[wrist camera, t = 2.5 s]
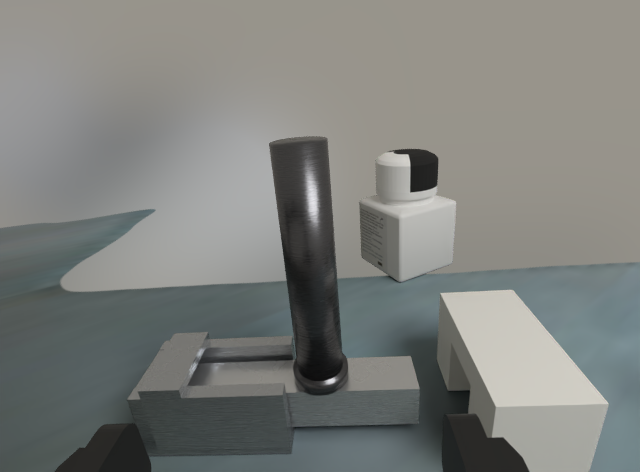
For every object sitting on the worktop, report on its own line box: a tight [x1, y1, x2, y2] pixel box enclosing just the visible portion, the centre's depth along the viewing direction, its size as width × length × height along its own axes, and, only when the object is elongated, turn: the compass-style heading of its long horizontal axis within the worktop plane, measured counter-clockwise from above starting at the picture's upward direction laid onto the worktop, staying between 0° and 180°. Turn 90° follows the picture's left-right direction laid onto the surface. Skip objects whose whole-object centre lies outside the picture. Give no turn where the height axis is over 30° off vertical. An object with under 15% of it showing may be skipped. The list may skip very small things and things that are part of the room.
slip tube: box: [187, 137, 420, 427], centre depth 21 cm, size 16×3×17 cm, turn 88°
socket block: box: [437, 290, 609, 472], centre depth 23 cm, size 5×10×6 cm, turn 178°
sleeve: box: [127, 332, 296, 456], centre depth 24 cm, size 9×5×5 cm, turn 88°
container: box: [359, 149, 456, 282], centre depth 42 cm, size 8×8×13 cm
